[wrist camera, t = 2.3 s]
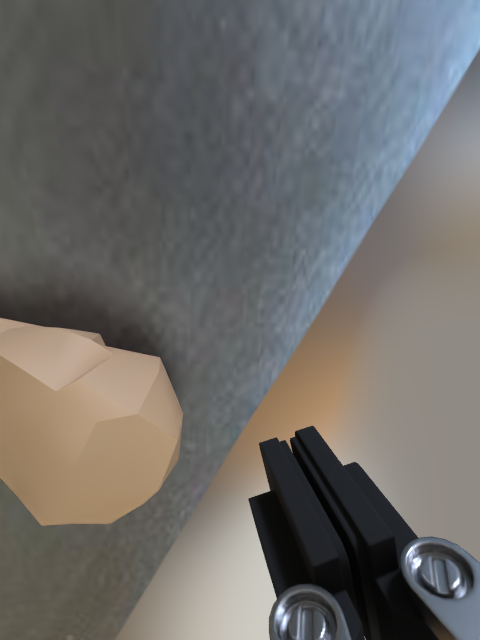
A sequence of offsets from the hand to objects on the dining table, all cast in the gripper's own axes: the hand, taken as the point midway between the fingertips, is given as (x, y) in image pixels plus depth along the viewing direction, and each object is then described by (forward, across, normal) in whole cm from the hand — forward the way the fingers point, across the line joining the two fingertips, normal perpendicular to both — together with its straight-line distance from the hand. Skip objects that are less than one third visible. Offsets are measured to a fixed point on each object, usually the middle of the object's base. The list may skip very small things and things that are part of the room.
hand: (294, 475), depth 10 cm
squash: (+16, +12, 0) cm, 21 cm away
